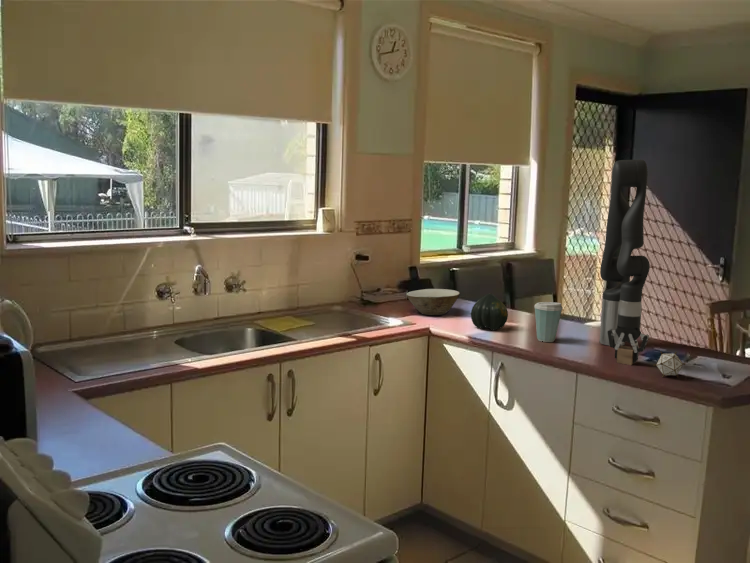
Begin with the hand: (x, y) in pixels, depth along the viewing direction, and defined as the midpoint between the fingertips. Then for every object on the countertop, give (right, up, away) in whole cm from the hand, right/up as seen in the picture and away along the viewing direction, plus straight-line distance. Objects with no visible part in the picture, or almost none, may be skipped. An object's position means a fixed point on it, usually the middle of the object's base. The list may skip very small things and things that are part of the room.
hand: (625, 361), depth 257 cm
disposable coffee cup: (-21, +5, +29) cm, 36 cm away
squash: (-40, +8, +49) cm, 64 cm away
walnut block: (0, -1, 0) cm, 0 cm away
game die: (+9, -4, -15) cm, 18 cm away
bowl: (-61, +13, +76) cm, 98 cm away
